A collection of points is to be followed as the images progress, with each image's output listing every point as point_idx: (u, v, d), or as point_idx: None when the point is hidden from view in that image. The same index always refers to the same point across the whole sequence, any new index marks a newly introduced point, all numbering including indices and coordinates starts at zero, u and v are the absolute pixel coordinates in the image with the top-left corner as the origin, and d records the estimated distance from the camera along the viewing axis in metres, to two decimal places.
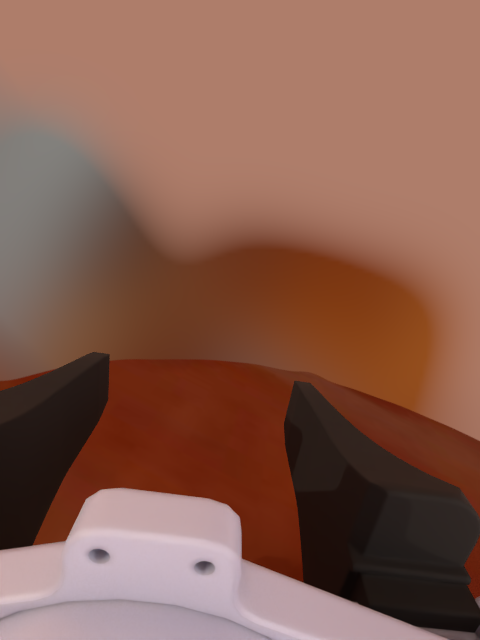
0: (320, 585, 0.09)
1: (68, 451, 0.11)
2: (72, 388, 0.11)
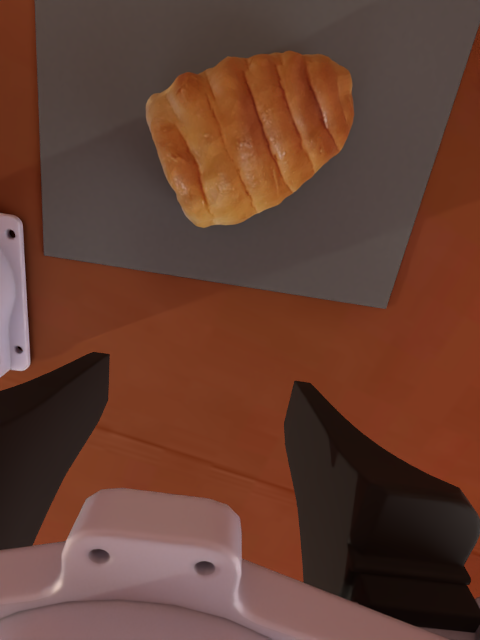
0: (321, 586, 0.09)
1: (68, 451, 0.11)
2: (72, 388, 0.11)
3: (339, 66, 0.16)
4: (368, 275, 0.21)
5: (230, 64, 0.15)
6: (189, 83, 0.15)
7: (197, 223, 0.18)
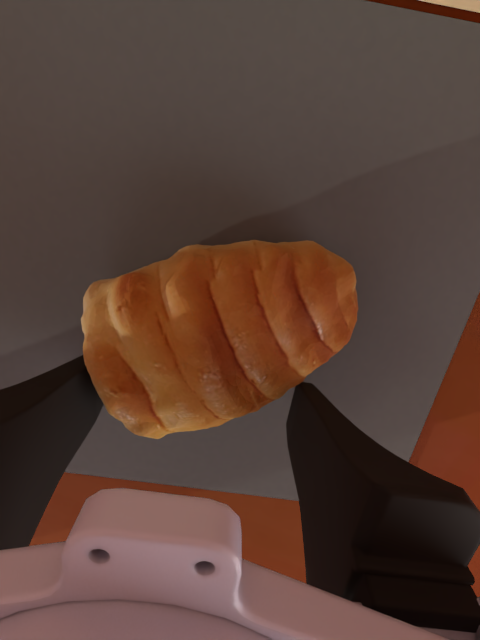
0: (324, 586, 0.09)
1: (65, 451, 0.11)
2: (69, 388, 0.11)
3: (339, 261, 0.12)
4: None
5: (189, 272, 0.11)
6: (133, 298, 0.11)
7: None
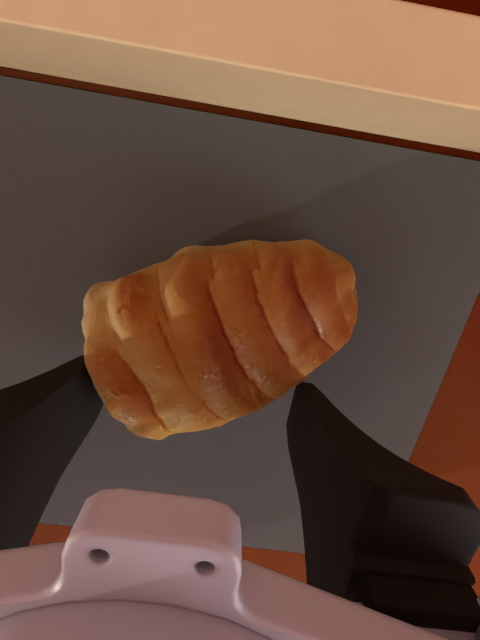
0: (324, 586, 0.09)
1: (65, 451, 0.11)
2: (69, 388, 0.11)
3: (338, 259, 0.12)
4: None
5: (188, 273, 0.11)
6: (133, 299, 0.11)
7: None
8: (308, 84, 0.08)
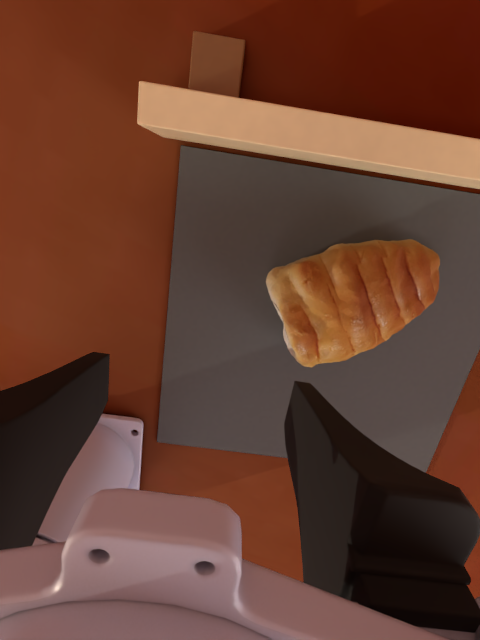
0: (321, 586, 0.09)
1: (68, 451, 0.11)
2: (72, 388, 0.11)
3: (430, 251, 0.19)
4: (411, 453, 0.26)
5: (346, 259, 0.18)
6: (313, 275, 0.18)
7: (306, 366, 0.21)
8: (435, 174, 0.15)
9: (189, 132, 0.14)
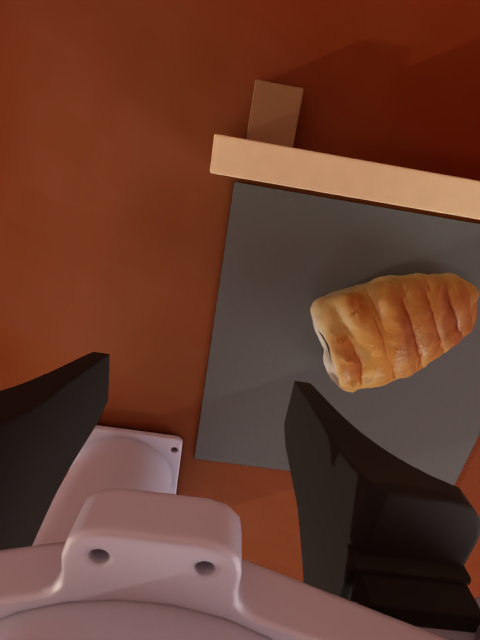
0: (320, 585, 0.09)
1: (68, 451, 0.11)
2: (72, 388, 0.11)
3: (470, 285, 0.20)
4: (439, 470, 0.27)
5: (391, 293, 0.19)
6: (360, 308, 0.19)
7: None
8: None
9: (258, 180, 0.15)
